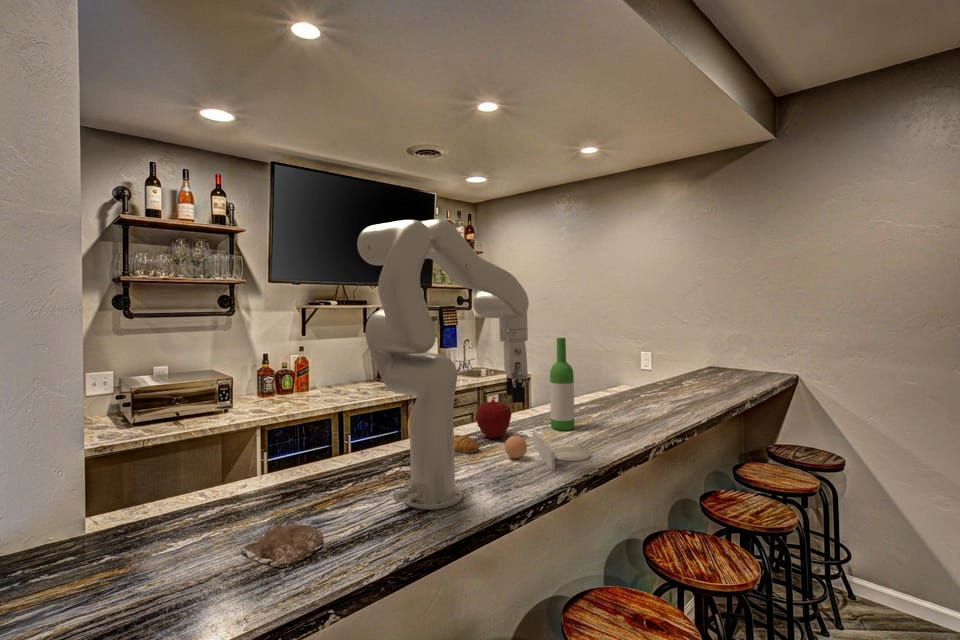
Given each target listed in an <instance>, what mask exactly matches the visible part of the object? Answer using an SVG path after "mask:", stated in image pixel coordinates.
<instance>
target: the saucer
mask: <svg viewBox="0 0 960 640" xmlns="http://www.w3.org/2000/svg"><path fill="white" fill-rule="evenodd" d="M551 449H552V450H553V451H554V458H555V460H557V461H560V462H571V463H572V462H584V461H586V459H587V460H588V458H589V457H591V452H590V451H588V449H587V450H586V449H584V448H580V447H574V446H562V447H561V446H560V447H556V448H551ZM589 459H590V458H589Z"/></svg>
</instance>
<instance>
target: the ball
mask: <svg viewBox="0 0 960 640" xmlns="http://www.w3.org/2000/svg"><path fill="white" fill-rule="evenodd" d="M504 450H505V453H506V454H507V456H508V457H509V458H512V459H521V458H523V457H524V456H525V455H526V453H527V450H528V444H527V442H526V440H525V439H524V438H523V437H521V436H519V435H513V436H510V437H509V438H507V440H506V441H505V443H504Z"/></svg>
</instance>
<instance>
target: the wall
mask: <svg viewBox="0 0 960 640" xmlns="http://www.w3.org/2000/svg"><path fill="white" fill-rule="evenodd" d="M532 446H533V447H534V449H535V450H536V451H537V452H538V453H539V455H540V457H541V458H542V459H543V461H544V462H545V463H546V465H547V467H548V468H550V471H555V469H556V465H555V464H556V463H555V462H556V461H555V460H556V459H555V458H554V451H553V450H552V449H553V448H551V446H549V444H548V443H547V441H546V440H545V439H544V438H543V437H542V436H541V435H540V433H539V432H538V431H537V430H536V429H532Z"/></svg>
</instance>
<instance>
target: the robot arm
mask: <svg viewBox="0 0 960 640" xmlns="http://www.w3.org/2000/svg"><path fill="white" fill-rule="evenodd" d="M356 246H357V247H356V248H357V252H358V255H360V258H362V260H364V261H365V262H366V263H367V264H370V265H372V266H383V267H382V269H381V271H380V275H379V278H378V284H377V291H378V293H377V294H378V297H379V300H380V303H381V307H382V309H379V310H377V311H375V312H373V313H372V314H371V315H370V316H369V318H368V319H367V321H366V325H365V341H366V344H367V346H368V349H369V352H370V355H371V357H372V360H373V362H374V364H375V366H376V368H377V371H378V374H379V376H380V378H381V380H382V383H384V385H385V387H386V388H387V389H388V390H390V392H392V393H395V394H399V395H404V396H405V395H406V396H412V397H415V398H416V400H415V402H414V404H413V407H412V408H411V410H410V415H409V423H408V425H409V427H408V429H409V449H410V450H409V453H410V454H409V455H410V456H409V457H410V458H409V459H410V480H407V481H406V483H407V485H406V486H405V487H404V489H400V490H398V491H395V492H393V493H392V498H393V500H394V502H396V503H397V502H401V501H404V503H405V504H406V505H408V506H409V507H411V508H414V509H416V510H417V509H419V510H425V511H426V510H430V511H431V510H432V511H433V510H439V509H440V510H442V509H446V508H449V507H452V506H455V505H457V504H458V503H459V502H461V501H462V499H463V490H462V488H461V487H459V486H458V485H456V472H455V471H456V470H455V467H456V466H455V465H456V464H455V463H456V462H455V451H454V435H455V433H454V432H455V431H454V424H455V423H454V422H455V421H454V405H455V404H454V403H455V394H456V393H455V392H456V388H457V382H458V369H457V366H456V364H455V362H454V361H452V359H450V358H449V357H448V356H446V355H443V354H439V353H432V352H431V353H430V352H428V351H430V350H431V349H432V348H433V347H434V346H435V343H436V339H437V338H436V336H437V335H436V329H435V326H434V323H433V320H432V317H431V314H430V311H429V308H428V306H427V305H428V304H427V302H426V300H425V297H424V294H423V291H422V286H421V272H422V268H423V264H424V263H425V260H427V259H428V260H429V259H430V260H432V261H433V262H435V264H437V266H438V267H439V269H441V270H442V271H443V272H444V273H445V275H447V277H449V279H450V280H451V281H452V282H454V284H456V285H459V286H460V287H464V288H467V289H470V290H474V291H478V292H477V293H476V294H475V295H474V297H473V301H472V302H473V303H472V305H473V310H474V311H475V312H476V314H477V315H478V316H479V317H483V318H486V319H498V322H499V323H498V324H499V327H498V328H499V341H500V342H503V362H504V363H503V364H504V365H503V366H504V373H505V375H506V377H505V379H506V381H505V389H506V391H505V392H506V393H505V394H506V396H511V398H512V399H511V401H512V403H513V404H515V403H517V404H518V403H520V404H521V403H525V401H526V399H525V381H524V379H528V376H529V375H528V374H529V373H528V356H527V346H526V342H527V341H528V339H529V337H528V334H529V333H528V328H529V327H528V309H529V297H528V293H527V292H526V290H525V288H524V287H523V286H522V285H521V283H520V282H519V281H518V279H517V278H516V277H515V276H514V275H513V274H511V272H509V271H507V270H506V269H504V268H502V267H501V266H498V265H496V264H495V263H492V262H490V261H488V260H486V259H484V258H481V257H480V255H478V253H477V252H476V250H475V249H474V248H473V247H472V246H471V245H470V243H469V242H468V241H467V240H466V239H465V237H464V236H463V235H462V234H461V233H460V231H459V230H458V229H457V228H456V226H455V225H454V224H452V222H450V221H449V220H446V219H443V218H433V219H427V220H421V221H420V220H416V219H402V220H396V221H391V222H384V223H378V224H372V225H369V226H367V227H365V228H364V229H363V230H362V231H361V232H360V233H359V235H358V238H357V245H356Z"/></svg>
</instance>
